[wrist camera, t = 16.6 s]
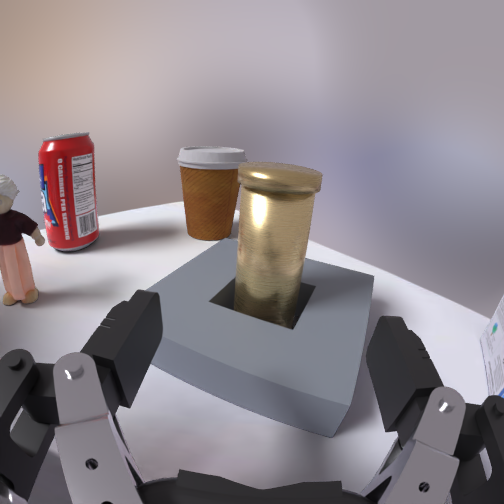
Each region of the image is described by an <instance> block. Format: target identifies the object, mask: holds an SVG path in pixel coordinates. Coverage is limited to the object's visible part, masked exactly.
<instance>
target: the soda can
mask: <svg viewBox="0 0 504 504" xmlns="http://www.w3.org/2000/svg"><path fill="white" fill-rule="evenodd" d="M43 141H44V142H43V145H42V147H41V149H40V150H39V153H38V156H39V174H40V186H41V196H42V205H43V213H44V220H45V226H46V232H47V238H48V242H49V245H50V246H51V247H53V248H55V249H58V250H61V251H76V250H80V249H83V248H85V247H87V246H89V245H90V244H91V243H92V242H94V241H95V240H96V239H97V238H98V236H99V223H98V215H97V214H98V213H97V201H96V188H95V187H96V186H95V166H94V165H95V163H94V143H93V142H92V141H91V139H90V137H89V132H87V133H74V134H66V135H60V136H55V137H49V138H45V139H43Z"/></svg>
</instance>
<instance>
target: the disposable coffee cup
mask: <svg viewBox="0 0 504 504" xmlns="http://www.w3.org/2000/svg"><path fill="white" fill-rule="evenodd" d="M177 160H178V163H179V165H180V170H181V180H182V189H183V199H184V207H185V215H186V224H187V232H188V234H189V235H190V236H191V237H193V238H196V239H201V240H219V239H223V238H226V237H228V236H229V235H230V234H231V229H232V223H233V218H234V213H235V207H236V202H237V197H238V192H239V187H240V184H239V183H238V181H237V179H238V165H239V164H241V163H246V162H247V159H246V158H245V152H244V150H241V149H236V148H227V147H209V146H207V147H206V146H202V147H201V146H198V147H185V148H181V150H180V154H179V157H177Z"/></svg>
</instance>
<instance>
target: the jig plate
mask: <svg viewBox="0 0 504 504" xmlns="http://www.w3.org/2000/svg"><path fill="white" fill-rule="evenodd" d="M237 248H238V241H236V240H232V239H228V238H224V239H223V240H221V241H220V242H218V243H217V244H215V245H213V246H212V247H210V248H209V249H207V250H206V251H204V252H203V253H201V254H200V255H198V256H197V257H195V258H194V259H192V260H190V261H189V262H187V263H186V264H184V265H183V266H181V267H180V268H178V269H177V270H175V271H174V272H172V273H171V274H169V275H168V276H166V277H165V278H163V279H162V280H160V281H159V282H157V283H156V284H154V285H153V286H151V287H150V288H148V289H147V290H145V291H151V292H157V293H159V296H160V304H161V313H162V322H163V335H162V339H161V342H160V344H159V347H158V349H157V351H156V353H155V355H154V357H153V359H152V361H151V364H152V365H154V366H156V367H158V368H160V369H161V370H163V371H165V372H167V373H169V374H171V375H173V376H175V377H177V378H179V379H181V380H183V381H185V382H187V383H189V384H191V385H193V386H195V387H197V388H199V389H201V390H203V391H205V392H208V393H210V394H212V395H214V396H216V397H219V398H221V399H223V400H226V401H228V402H230V403H233V404H235V405H237V406H240V407H242V408H245V409H247V410H250V411H252V412H255V413H257V414H260V415H263V416H265V417H268V418H271V419H274V420H276V421H279V422H282V423H285V424H288V425H291V426H294V427H297V428H300V429H303V430H306V431H310V432H313V433H316V434H320V435H323V436H327V437H330V438H332V437H333V436H334V434H335V432H336V431H337V429H338V427H339V425H340V424H341V422H342V420H343V418H344V417H345V415H346V413H347V411H348V409H349V407H350V405H351V401H352V397H353V393H354V389H355V385H356V380H357V376H358V372H359V367H360V362H361V357H362V352H363V347H364V342H365V336H366V331H367V325H368V318H369V312H370V305H371V298H372V291H373V283H374V276H373V275H369V274H365V273H361V272H357V271H353V270H350V269H346V268H342V267H338V266H334V265H330V264H326V263H323V262H319V261H315V260H311V259H307V258H305V261H304V267H303V273H302V278H301V284H300V289H299V295H298V300H297V305H296V310H295V316H299V317H300V318H299V320H298V322H297V324H296V326H295V327H294V329H293V330H291V329H288V328H285V327H282V326H279V325H276V324H272V323H269V322H266V321H263V320H260V319H257V318H254V317H251V316H248V315H245V314H242V313H239V312H236V311H234V298H235V281H236V264H237Z"/></svg>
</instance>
